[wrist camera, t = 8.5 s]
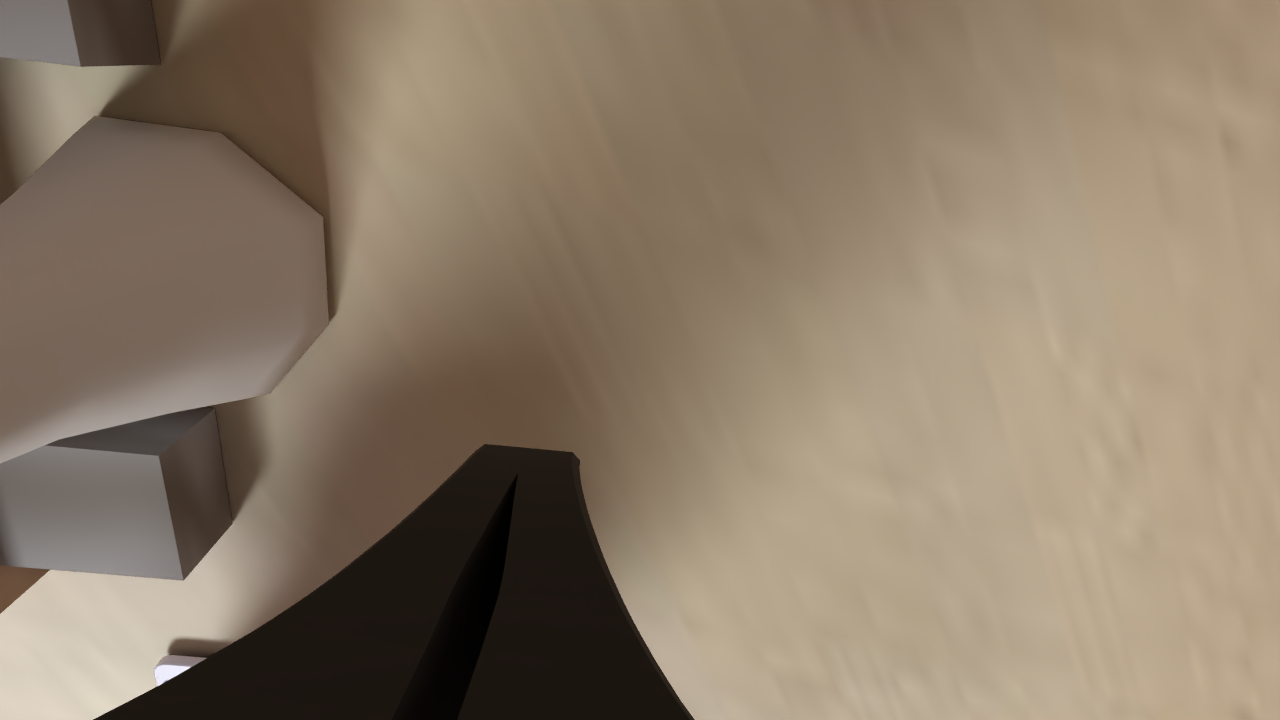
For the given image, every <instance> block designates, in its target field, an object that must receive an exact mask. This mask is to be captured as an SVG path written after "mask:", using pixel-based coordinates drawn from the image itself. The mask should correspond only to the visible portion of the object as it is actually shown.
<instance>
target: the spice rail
mask: <svg viewBox="0 0 1280 720" xmlns="http://www.w3.org/2000/svg"><path fill="white" fill-rule="evenodd" d="M0 57H4V58H12V59H20V60H29V61H37V62H46V63H54V64H63V65H71V66H80V67H84V66H121V65H158V64H161V63H160V57H159V50H158V44H157V37H156V31H155V25H154V18H153V12H152V6H151V0H0ZM231 525H232V517H231V511H230V504H229V498H228V491H227V485H226V479H225V472H224V466H223V459H222V453H221V447H220V440H219V434H218V427H217V421H216V415H215V409H214V408H203V407H200V408H195V409H189V410H184V411H179V412H173V413H169V414H165V415H160V416H156V417H152V418H148V419H143V420H139V421H135V422H131V423H126V424H122V425H118V426H114V427H110V428H105V429H101V430H97V431H93V432H88V433H84V434H80V435H76V436H71V437H67V438H63V439H59V440H56V441H54V442H51V443H49V444H47V445H44V446H42V447H39V448H37V449H34V450H32V451H30V452H27V453H25V454H22V455H20V456H17V457H15V458H13V459H10V460H8V461H5V462H3V463H0V613H2V612H3V611H4V610H5V609H6V608H7V607H8V606H9V605H11V604H12V603H13V602H14V601H15V600H16V599H17V598H18V597H20V596H21V595H22V594H23V593H24V592H25V591H26V590H28V589H29V588H30V587H31V586H32V585H33V584H34V583H35V582H37V581H38V580H39V579H40V578H41V577H42V576H43V575H45V574H46V573H47V572H48V571H49V570H62V571H74V572H86V573H98V574H110V575H123V576H135V577H147V578H159V579H171V580H183V581H184V579H185V578H186V577H187V576H188V575H189V574H190V572H191V571H192V570H193V569H194V568H195V567H196V565H197V564H198V563H199V562H200V561H201V560H202V558H203V557H204V556H205V555H206V554H207V553H208V551H209V550H210V549H211V548H212V547H213V546H214V544H215V543H216V542H217V541H218V540H219V539H220V537H221V536H222V535H223V534H224V533H225V532H226V530H227V529H228V528H229V527H230V526H231Z"/></svg>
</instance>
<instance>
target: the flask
mask: <svg viewBox="0 0 1280 720" xmlns="http://www.w3.org/2000/svg"><path fill="white" fill-rule="evenodd" d="M328 325H329V315H328V297H327V278H326V260H325V242H324V224H323V217H322V216H321V215H320V214H319V213H317V212H316V211H315V210H314V209H313V208H311V207H310V206H309V205H308V204H307V203H305V202H304V201H303V200H302V199H300V198H299V197H298V196H297V195H296V194H294V193H293V192H292V191H291V190H290V189H288V188H287V187H286V186H285V185H283V184H282V183H281V182H280V181H279V180H277V179H276V178H275V177H274V176H273V175H271V174H270V173H269V172H268V171H266V170H265V169H264V168H263V167H262V166H260V165H259V164H258V163H257V162H256V161H254V160H253V159H252V158H251V157H249V156H248V155H247V154H246V153H245V152H243V151H242V150H241V149H240V148H238V147H237V146H236V145H235V144H234V143H232V142H231V141H230V140H229V139H228V138H226V137H225V136H224V135H223V134H221V133H219V132H212V131H204V130H197V129H189V128H182V127H174V126H167V125H159V124H152V123H144V122H137V121H129V120H122V119H114V118H107V117H99V116H94V117H93V118H92V119H91V120H90V121H88V122H87V123H86V124H85V125H84V126H83V127H82V128H80V129H79V130H78V131H77V132H76V133H75V134H74V135H72V136H71V137H70V138H69V139H68V140H67V141H66V142H65V143H64V144H63V145H62V146H61V147H60V148H59V149H58V150H57V151H56V152H55V153H54V154H53V155H52V156H51V157H50V158H49V159H48V160H47V161H46V162H45V163H44V164H43V165H42V166H41V167H40V168H39V169H38V170H37V171H36V172H35V173H34V174H33V175H32V176H31V177H30V178H29V179H28V180H27V181H26V182H25V183H24V184H23V185H22V186H21V187H20V188H19V189H18V190H17V191H16V192H14V193H13V194H12V195H11V196H10V197H9V198H8V199H6V200H5V201H4V202H3V203H2V204H1V205H0V463H3V462H5V461H8V460H10V459H13V458H15V457H17V456H20V455H22V454H25V453H27V452H30V451H32V450H34V449H37V448H39V447H42V446H44V445H47V444H49V443H51V442H54V441H56V440H59V439H63V438H67V437H71V436H76V435H80V434H84V433H88V432H93V431H97V430H101V429H105V428H110V427H114V426H118V425H122V424H126V423H131V422H135V421H139V420H143V419H148V418H152V417H156V416H160V415H165V414H169V413H173V412H179V411H184V410H189V409H195V408H200V407H205V406H211V405H216V404H221V403H227V402H232V401H237V400H243V399H247V398H252V397H256V396H260V395H265V394H269V393H271V392H272V390H273V389H274V388H275V387H276V386H277V385H278V383H279V382H280V381H281V380H282V379H283V377H284V376H285V375H286V374H287V373H288V372H289V370H290V369H291V368H292V367H293V366H294V365H295V363H296V362H297V361H298V360H299V359H300V358H301V356H302V355H303V354H304V353H305V352H306V350H307V349H308V348H309V347H310V346H311V345H312V343H313V342H314V341H315V340H316V339H317V338H318V336H319V335H320V334H321V333H322V332H323V331H324V329H325V328H326V327H327V326H328Z"/></svg>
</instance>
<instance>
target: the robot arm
mask: <svg viewBox="0 0 1280 720" xmlns="http://www.w3.org/2000/svg"><path fill="white" fill-rule="evenodd" d="M579 465H580V460H579V459H578V458H577V457H576V456H575V454H574V453H573V452H564V451H553V450H542V449H531V448H521V447H510V446H499V445H488V444H484V445H483V446H482V447H480V448H479V449H478V450H476V451H475V452H474V453H473V454H472V455H471V456H470V457H469V458H468V459H467V460H466V461H465V462H464V463H463V464H462V465H461V466H460V467H459V468H458V469H457V470H456V471H455V472H454V473H453V474H452V475H451V476H450V477H449V478H448V479H447V480H446V481H445V482H444V483H443V484H442V485H441V486H440V487H439V488H438V489H437V490H436V491H435V492H434V493H433V494H432V495H431V496H429V497H428V498H427V499H426V500H425V501H424V502H423V503H422V504H421V505H419V506H418V507H417V508H416V509H415V510H414V511H413V512H412V513H411V514H409V515H408V516H407V517H406V518H405V519H404V520H403V521H402V522H400V523H399V524H398V525H397V526H396V527H395V528H394V529H392V530H391V531H390V532H389V533H388V534H387V535H385V536H384V537H383V538H382V539H380V540H379V541H378V542H377V543H375V544H374V545H373V546H372V547H370V548H369V549H368V550H367V551H365V552H364V553H363V554H362V555H360V556H359V557H358V558H357V559H355V560H354V561H353V562H352V563H350V564H349V565H348V566H347V567H345V568H344V569H343V570H342V571H340V572H339V573H338V574H336V575H335V576H334V577H332V578H331V579H330V580H328V581H327V582H325V583H324V584H323V585H321V586H320V587H319V588H317V589H316V590H314V591H313V592H312V593H310V594H309V595H307V596H306V597H305V598H303V599H302V600H300V601H299V602H297V603H296V604H294V605H293V606H291V607H290V608H288V609H287V610H285V611H284V612H282V613H281V614H279V615H278V616H276V617H275V618H273V619H272V620H270V621H269V622H267V623H266V624H264V625H262V626H261V627H259V628H258V629H256V630H254V631H253V632H251V633H249V634H248V635H246V636H244V637H243V638H241V639H239V640H237V641H236V642H234V643H232V644H230V645H229V646H227V647H225V648H223V649H222V650H220V651H218V652H217V653H215V654H213V655H211V656H210V657H208V658H204V657H191V656H178V655H169V656H165V657H163V658H162V659H161V660H160V662H159V663H158V664H157V665H156V667H155V668H154V674H155V678H156V682H157V687H155V688H154V689H152V690H150V691H148V692H146V693H144V694H142V695H140V696H138V697H136V698H134V699H132V700H131V701H129V702H127V703H125V704H123V705H121V706H119V707H117V708H115V709H113V710H111V711H109V712H107V713H105V714H103V715H101V716H100V717H98V718H96V719H94V720H694V718H693V717H692V716H691V714H690V713H689V711H688V710H687V709H686V707H685V706H684V705H683V703H682V702H681V700H680V699H679V697H678V696H677V694H676V693H675V691H674V689H673V688H672V686H671V685H670V683H669V682H668V680H667V678H666V677H665V675H664V674H663V672H662V670H661V669H660V667H659V666H658V664H657V662H656V661H655V659H654V657H653V656H652V654H651V652H650V650H649V649H648V647H647V645H646V643H645V642H644V640H643V638H642V636H641V635H640V633H639V631H638V629H637V627H636V625H635V624H634V622H633V620H632V618H631V616H630V614H629V612H628V610H627V608H626V606H625V604H624V602H623V600H622V598H621V595H620V593H619V591H618V589H617V587H616V585H615V582H614V580H613V578H612V576H611V574H610V571H609V569H608V566H607V564H606V562H605V559H604V557H603V554H602V551H601V549H600V546H599V543H598V540H597V538H596V535H595V532H594V529H593V526H592V524H591V520H590V517H589V514H588V511H587V507H586V503H585V499H584V495H583V491H582V486H581V480H580V470H579Z"/></svg>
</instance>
